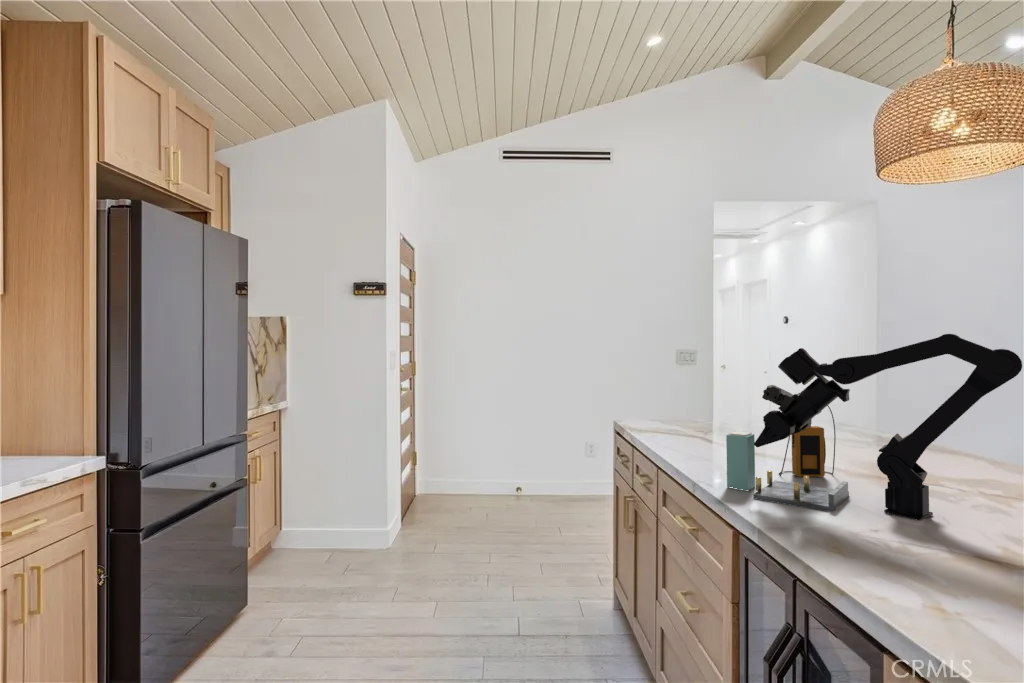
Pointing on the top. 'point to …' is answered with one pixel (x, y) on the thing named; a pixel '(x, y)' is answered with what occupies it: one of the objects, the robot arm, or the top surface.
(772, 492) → the plate
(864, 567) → the top surface
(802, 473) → the multimeter
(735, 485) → the plate
